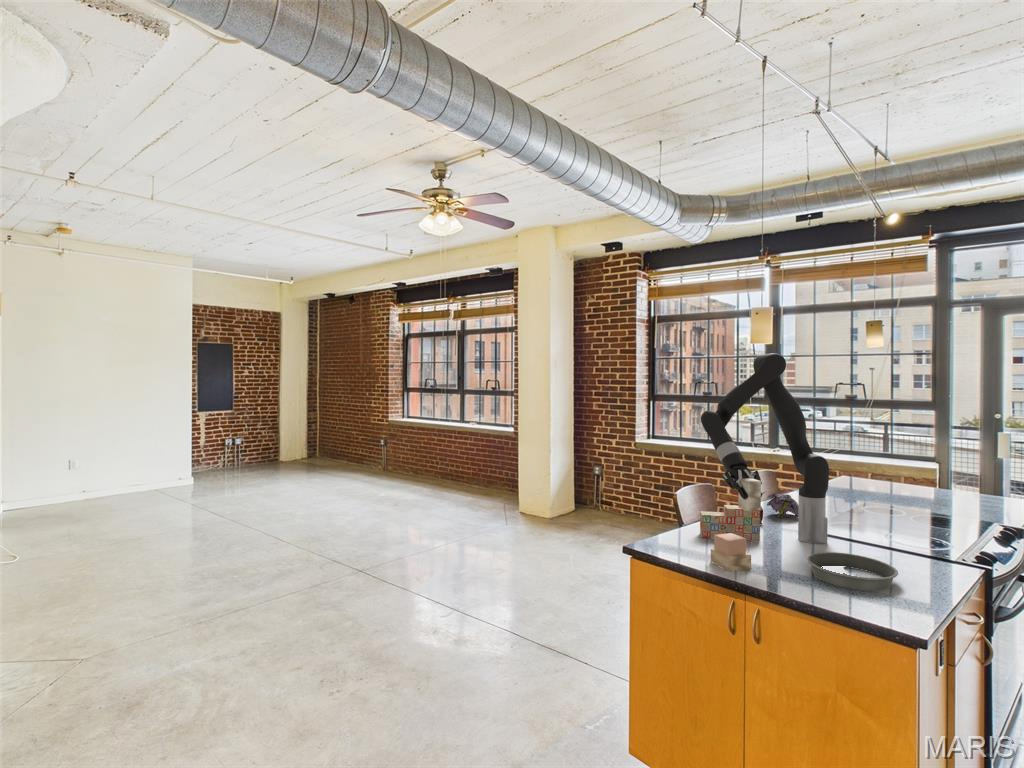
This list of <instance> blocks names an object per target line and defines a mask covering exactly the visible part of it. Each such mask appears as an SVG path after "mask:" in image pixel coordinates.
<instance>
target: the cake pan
mask: <svg viewBox="0 0 1024 768" xmlns="http://www.w3.org/2000/svg"><path fill="white" fill-rule="evenodd" d="M806 561H807V562H808V564H809V565H810V567H811V572H812V574H813V576H814V577H816V578H817V579H819V580H821V581H823V582H825V583H828V584H831V585H834V586H837V587H841V588H845V589H851V590H859V591H860V590H861V591H882V590H886V589H890V587H891V586H892V583H893V580H894V579H896V577H898V576H899V571H898V570H897V569H896V568H895V567H894V566H893V565H891V564H890V563H889V564H888V563H887V562H884V561H881V560H878V559H875V558H872V557H868V556H864V555H863V556H862V555H860V554H854V553H847V552H846V553H844V552H834V551H830V552H829V551H824V552H815V553H812V554H809V555H808V556H807V557H806ZM822 566H846V567H845V568H849V567H853V568H852V569H855V568H858V569H857V570H860V569H863V570H862V571H864V570H867V571H866V572H868V571H870V572H869V573H871V572H873V573H872V574H874V573H876V574H875V575H877V574H878V575H877V576H880V577H864V576H861V577H857V576H851V575H847V574H845V573H843V574H840V573H836V572H832V571H829V570H826V569H823V567H822ZM821 567H822V568H821Z"/></svg>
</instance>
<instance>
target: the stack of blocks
mask: <svg viewBox="0 0 1024 768" xmlns="http://www.w3.org/2000/svg"><path fill="white" fill-rule="evenodd" d="M699 515H700V516H699V533H700V536H701V538H703V539H712V538H713V540H714V535H718V534H727V533H733V534H735V535H738V536H740V537H743V538H746V542H760V541H761V524H760V510H755V511H747V510H744V509H741V508H738V505H735V504H733V505H732V504H731V505H730V504H724V505H723V512H719V511H700V514H699Z"/></svg>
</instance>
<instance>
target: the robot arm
mask: <svg viewBox="0 0 1024 768" xmlns="http://www.w3.org/2000/svg"><path fill="white" fill-rule="evenodd" d="M786 368H787V361H786V359H785V357H784V356H783V355H782V354H779V353H763V354H760V355H758V356H756V357H755V358H754V361H753V370H754V373H753V374H752V375H751V376H749V377H748V378H747V379H746V380H745V381H742V382H741V383H739V384H738V385H737V386H735V387H734V388H732V389H730V391H729V392H728V393H727V394H726V395H724V397H722V399H721V400H720V401H719V402H718V404H717V409H716V411H715V410H711V409H709V410H708V409H707V410H705V411H704V412H702V414H701V415H700V423H701V425H702V427H703V430H704V431H705V433H706V434H707V435H708V436H709V438H710V442H711V444H712V446H713V448H714V450H715V452H716V454H717V456H718V459H719V461H720V463H721V464H722V466H723V468H724V470H725V472H724V473H723V474H722V476H721V478H722V479H723V480H724V481H725V483H726V484H727V485H728V487H729V488H730V489H731V490H732V491H733V490H736V491H737V492H738V495H739V494H740V495H741V497H742V498H743V499H744V500H746V499H747V498H748V494H747V493H746V491H745V489H744V487H743V485H742V483H741V479H746V478H750V479H756V480H759V481H761V485H763V482H762V479H761V475H760V472H759V471H758V470H754V471H751V470H750V469H749V468H748V466H747V462H746V459H745V458H744V456H743V454H742V453H741V450H739V447H738V446H737V445H736V443H735V441H734V439H733V438H732V436H731V435H730V433H729V432H728V431H727V428H726V427H727V425H728V424H729V422H730V421H731V419H732V417H733V416H734V415H735V414H736V413H737V412H738V411H739V410H740V409H741V408H742V407H743V406H745V404H746V403H747V402H748V401H749V400H751V398H753V397H754V396H755V395H756V394H757V393H759V391H761V390H762V389H764V391H765V394H766V396H767V398H768V401H769V404H770V406H771V407H772V409H773V413H774V415H775V418H776V420H777V423H778V425H779V426H780V429H781V432H782V433H783V436H784V438H785V441H786V442H787V445H788V447H789V451H790V453H791V457H792V461H793V463H794V467H795V470H796V471H797V473H799V474H800V475H801V476H803V485H801V486H799V488H798V503H797V504H798V517H797V519H798V523H797V525H798V526H797V527H798V528H797V532H798V533H797V535H798V536H797V537H798V538H797V539H798V540H799V541H801V542H803V543H809V544H816V545H817V544H818V543H820V544H828V527H829V525H828V524H829V523H828V521H829V520H828V517H827V516H826V514H827V513H826V507H827V505H826V501H827V495H826V494H827V492H828V488H829V484H830V483H829V481H830V465H829V462H828V459H826V458H825V457H823V456H821V455H819V454H816V453H815V452H813V450H812V449H811V446H810V444H809V442H808V439H807V422H806V418H805V416H804V413H803V410H802V409H801V406H800V404H799V402H798V401H797V399H795V397H794V396H793V395H792V394H791V393H790V392H789V390H788V389H787V388H786V386H785V385H784V384H783V382H782V378H781V375H782V374H783V373H784V372H785V370H786ZM762 493H763V492H762V491H761V498H762V497H763V495H762ZM818 545H819V544H818Z"/></svg>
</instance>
